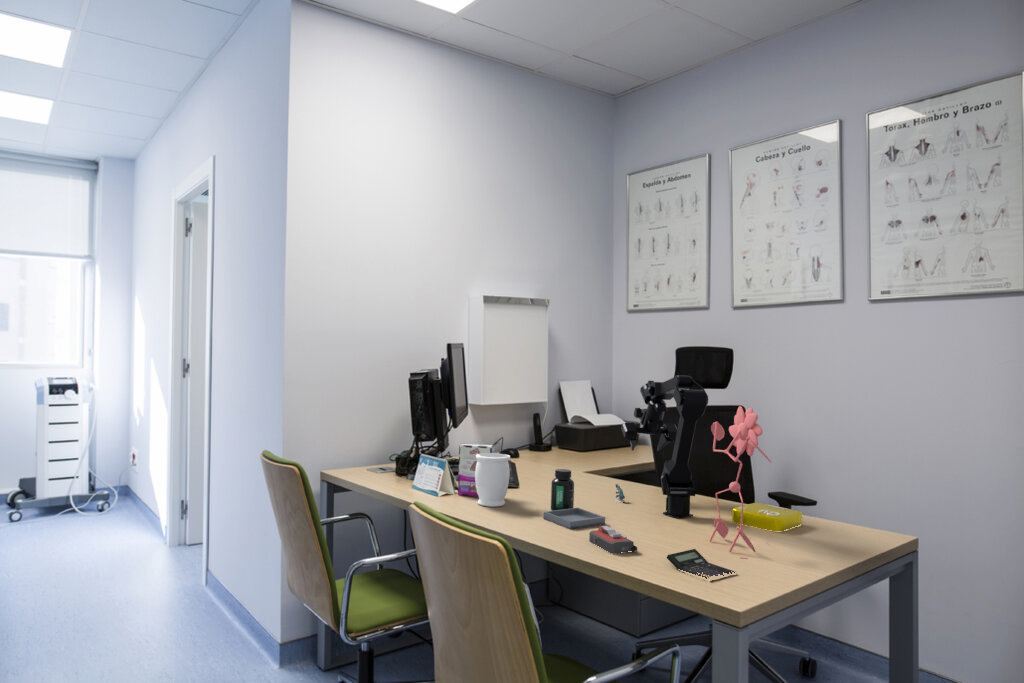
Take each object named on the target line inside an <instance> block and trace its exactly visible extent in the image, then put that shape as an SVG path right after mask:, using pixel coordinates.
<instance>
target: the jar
mask: <svg viewBox="0 0 1024 683" xmlns="http://www.w3.org/2000/svg"><path fill="white" fill-rule="evenodd" d="M476 459H477V460H478V461H477V464H476V469H475V481H476V490H477V494H478V496H479V497H478V498H479V499H477V504H478V505H479V506H482V507H490V508H492V507H493V508H494V507H495V508H496V507H502V506H505V505H506V501H505V498H506V496H507V493H508V489H509V488H508V487H509V484H510V477H511V476H510V475H511V473H510V471H511V470H510V464H509V461H510V460H511V455H509V454H506V453H497V452H495V453H482V454H477V455H476Z"/></svg>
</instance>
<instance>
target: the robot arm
mask: <svg viewBox="0 0 1024 683" xmlns="http://www.w3.org/2000/svg"><path fill="white" fill-rule="evenodd" d="M639 392H640V394H641V397H642V399H643V401H644V403H645V405H647V407H646V408H647V409H646V408H641V407H635V408H634V410H633V417H634V418H635V419H639V420H640V422H639V423H640V425H641V427H636V425H635V423H634V422H622V423H621V427H620V429H621V432H622V434H623V438H624V439H626V440H627V441H629V443H630V449H631V451H632V452H633V451H634V450H635V448H636V444H637V441H638V440H637V438H638V435H660V437H659V441H658V444H657V449H656V450H657V452H660V451H661V450H663V448H664V447H666V446H667V445H669V444H670V443H672V442H674V446H673V450H672V451H673V452H672V456H671V458H670V459H665V461H664V462H663V463H664V464H663V469H662V473H661V476H660V483H661V484H660V485H661V492H662V496H663V495H664V496H666V497H665V498H666V499H665V503H666V504H665V511H662V514H663V515H665V514H666V516H668V515H669V517H671V518H675V519H686V518H691V517H694V514H692V513H691V512H690V511H691V497H696V493H697V489H696V486H695V483H694V479H693V474H692V470H691V468H690V466H689V461H690V456H691V450H692V447H693V446H692V445H693V442H694V441H693V440H694V437H695V436H694V435H695V430H696V428H697V427H696V426H697V423H698V420H699V419H700V418H702V416H703V415H704V414H705V412H706V408H707V406H708V404H709V396H708V394H707V392H706V390H705V388H704V386H702V385H701V384H699V383H697V381H696V380H694V378H693V376H690V375H688V374H687V375H685V374H684V375H683V374H681V375H678V374H677V375H674V376H673V377H672V378H668V379H667V380H664V381H654V380H648V381H647V383H644V384H643V385H642V386H640V389H639ZM672 399H674V401H675V403H676V404H675V408H676V409H677V411H678V413H679V420H678V425H677V426H676V424H675V423H664V421H663V419H664V415H665V412H666V413H667V412H668V408H667V403H666V400H667V401H670V400H672Z"/></svg>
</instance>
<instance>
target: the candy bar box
mask: <svg viewBox="0 0 1024 683" xmlns="http://www.w3.org/2000/svg"><path fill="white" fill-rule="evenodd" d="M458 448H459V449H458V474H457V476H458V478H457V479H458V482H457V486H458V487H457V495H458V496H461V497H462V496H464V497H465V496H466V497H475V498H479V496H478V494H477V490H476V481H475V469H476V464H477V461H478V460H477V459H476V455H477V454H482V453H496V445H494V444H481V443H480V444H479V443H478V444H477V443H461V444H460V445H459V446H458Z"/></svg>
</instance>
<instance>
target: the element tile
mask: <svg viewBox="0 0 1024 683" xmlns="http://www.w3.org/2000/svg"><path fill="white" fill-rule="evenodd" d="M741 508H742V505H739V506H736V507H733V508H732V511H731V522H732V523H734V524H737V523H738V525H741ZM742 524H743V525H742V526H745V525H747V526H746V527H750V526H753V527H752V528H754V527H757V528H756V529H758V528H761V529H760V530H762V529H767V530H772V531H784V530H786V529H790V528H792V527H795V526H798V525H800V524H802V525H803V512H802V511H800V510H796V509H791V508H786V507H781V506H777V505H773V504H772V505H771V504H766V503H761V502H753V503H749V504H743V518H742ZM767 530H766V531H767Z"/></svg>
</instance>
